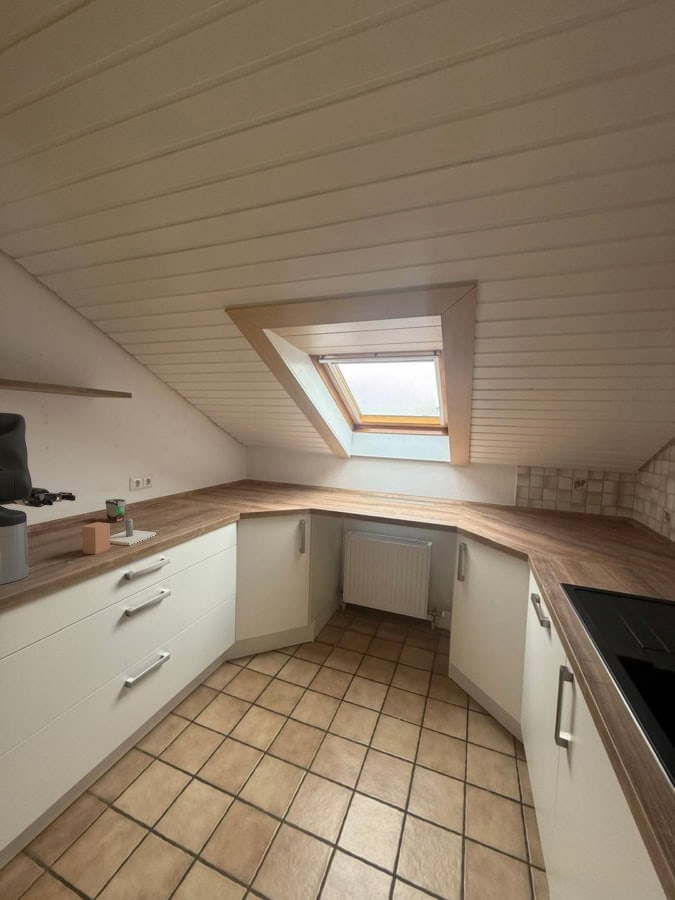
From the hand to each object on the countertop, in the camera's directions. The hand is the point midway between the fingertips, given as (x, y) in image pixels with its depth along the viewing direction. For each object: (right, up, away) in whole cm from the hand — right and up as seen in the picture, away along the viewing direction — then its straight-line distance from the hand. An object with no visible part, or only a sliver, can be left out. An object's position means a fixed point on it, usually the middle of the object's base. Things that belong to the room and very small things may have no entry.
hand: (63, 500), depth 132 cm
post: (+18, -18, +12) cm, 28 cm away
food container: (-4, -16, +39) cm, 42 cm away
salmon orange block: (+15, -19, -3) cm, 24 cm away
